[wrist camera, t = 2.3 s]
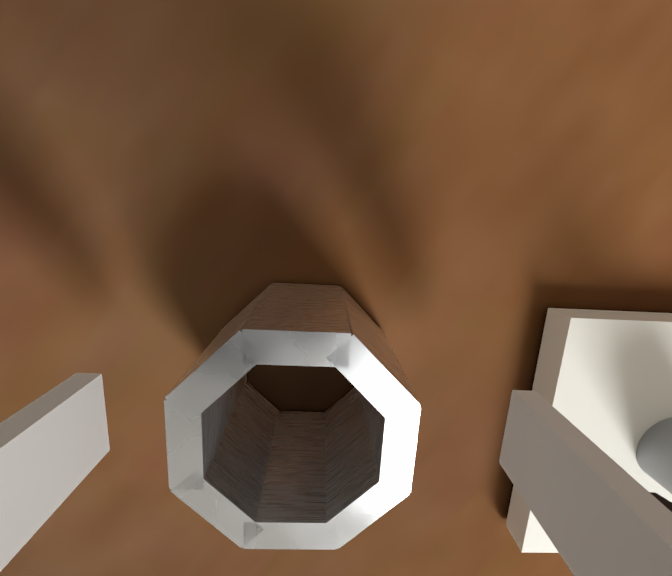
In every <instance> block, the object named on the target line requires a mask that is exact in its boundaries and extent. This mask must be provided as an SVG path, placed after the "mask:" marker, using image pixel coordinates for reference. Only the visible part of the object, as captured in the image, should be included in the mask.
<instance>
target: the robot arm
mask: <svg viewBox="0 0 672 576" xmlns="http://www.w3.org/2000/svg"><path fill="white" fill-rule="evenodd" d="M109 450H110V447H109V438H108V428H107V419H106V409H105V400H104V391H103V381H102V374H96V373H76V374H74V375H73V376H71V377H70V378H68V379H66V380H65V381H63V382H62V383H60V384H59V385H57V386H56V387H54V388H53V389H51V390H50V391H48V392H47V393H45V394H44V395H42V396H41V397H39V398H38V399H36V400H35V401H33V402H32V403H30V404H29V405H27V406H26V407H24V408H23V409H21V410H19V411H18V412H16V413H15V414H13V415H12V416H10V417H9V418H7V419H6V420H4V421H3V422H1V423H0V572H1V570H2V569H3V568H4V567H5V566H6V565H7V564H8V563H9V562H10V560H11V559H12V558H13V557H14V556H15V555H16V554H17V553H18V552H19V550H20V549H21V548H22V547H23V546H24V545H25V544H26V543H27V542H28V540H29V539H30V538H31V537H32V536H33V535H34V534H35V533H36V532H37V530H38V529H39V528H40V527H41V526H42V525H43V524H44V523H45V522H46V520H47V519H48V518H49V517H50V516H51V515H52V514H53V513H54V511H55V510H56V509H57V508H58V507H59V506H60V505H61V504H62V503H63V501H64V500H65V499H66V498H67V497H68V496H69V495H70V494H71V493H72V491H73V490H74V489H75V488H76V487H77V486H78V485H79V484H80V483H81V481H82V480H83V479H84V478H85V477H86V476H87V475H88V474H89V473H90V471H91V470H92V469H93V468H94V467H95V466H96V465H97V464H98V463H99V461H100V460H101V459H102V458H103V457H104V456H105V455H106V454H107V453H108V451H109ZM499 464H500V465H501V467H502V468H503V470H504V471H505V473H506V474H507V476H508V477H509V479H510V480H511V482H512V483H513V485H514V486H515V488H516V489H517V491H518V492H519V494H520V495H521V497H522V498H523V500H524V501H525V503H526V504H527V506H528V507H529V509H530V510H531V512H532V513H533V515H534V516H535V518H536V519H537V521H538V522H539V524H540V525H541V527H542V528H543V530H544V531H545V533H546V534H547V536H548V537H549V539H550V540H551V542H552V543H553V545H554V546H555V548H556V549H557V551H558V552H559V554H560V555H561V557H562V558H563V560H564V561H565V563H566V564H567V566H568V567H569V569H570V570H571V572H572V573H573V575H574V576H672V502H670V501H668V500H667V499H665V498H664V497H662V496H660V495H659V494H657V493H655V492H649V491H647V490H646V489H645V488H644V487H643V486H642V485H641V484H640V483H638V482H637V481H636V480H635V479H634V478H633V477H632V476H631V475H629V474H628V473H627V472H626V471H625V470H624V469H623V468H622V467H620V466H619V465H618V464H617V463H616V462H615V461H614V460H613V459H611V458H610V457H609V456H608V455H607V454H606V453H605V452H604V451H602V450H601V449H600V448H599V447H598V446H597V445H596V444H595V443H593V442H592V441H591V440H590V439H589V438H588V437H587V436H586V435H584V434H583V433H582V432H581V431H580V430H579V429H578V428H577V427H575V426H574V425H573V424H572V423H571V422H570V421H569V420H568V419H566V418H565V417H564V416H563V415H562V414H561V413H560V412H559V411H557V410H556V409H555V408H554V407H553V406H552V405H551V404H550V403H548V402H547V401H546V400H545V399H544V398H543V397H542V396H541V395H539V394H538V393H537V392H536V391H527V390H512V394H511V400H510V405H509V411H508V416H507V421H506V427H505V432H504V437H503V443H502V448H501V453H500V459H499Z"/></svg>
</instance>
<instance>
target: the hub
mask: <svg viewBox="0 0 672 576" xmlns="http://www.w3.org/2000/svg"><path fill="white" fill-rule="evenodd" d="M255 365H287V366H317V367H336V368H337V369H338V370H339V371H340V372H341V373H342V374H343V375H344V376H345V377H346V378H347V379H348V381H349V382H350V383H351V384H352V385H353V386H354V388H353V389H352V390H351V391H350V392H348V393H347V394H346V395H345V396H344V397H342V398H341V399H340V400H339V401H338V402H336V403H335V404H334V405H333V406H332V407H330V408H329V409H328V410H327V411H326V412H294V411H278V410H277V409H276V408H275V407H274V406H273V405H272V404H271V403H270V402H269V401H268V400H267V399H266V398H265V397H263V396H262V395H261V394H260V393H259V392H258V391H257V390H256V389H255V388H254V387H253V386H252V385H251V384H250V383H249V382H247V372H248V371H250V370H251V369H252V368H253V367H254V366H255ZM164 410H165V427H166V444H167V460H168V477H169V489H171V492H172V493H173V494H174V495H176V496H177V497H178V498H179V499H181V500H182V501H183V502H184V503H186V504H187V505H188V506H189V507H191V508H192V509H193V510H194V511H196V512H197V513H198V514H199V515H201V516H202V517H203V518H204V519H206V520H207V521H208V522H209V523H211V524H212V525H213V526H214V527H215V528H217V529H218V530H219V531H220V532H222V533H223V534H224V535H225V536H227V537H228V538H229V539H230V540H232V541H233V542H234V543H235V544H237V545H238V546H239V547H240V548H242V547H243V549H337V548H340V547H342V546H343V545H344V544H346V543H347V542H348V541H349V540H351V539H352V538H353V537H355V536H356V535H357V534H359V533H360V532H361V531H363V530H364V529H365V528H367V527H368V526H369V525H370V524H372V523H373V522H374V521H376V520H377V519H378V518H380V517H381V516H382V515H384V514H385V513H386V512H387V511H389V510H390V509H391V508H393V507H394V506H395V505H397V504H398V503H399V502H401V501H402V500H403V499H404V498H406V497H407V496H408V495H410V494H409V493H411V486H412V478H413V470H414V461H415V453H416V445H417V436H418V428H419V419H420V411H421V406H420V403H419V401H418V399H417V397H416V395H415V393H414V391H413V389H412V387H411V385H410V384H409V382H408V380H407V378H406V376H405V374H404V372H403V370H402V368H401V366H400V364H399V362H398V360H397V358H396V356H395V354H394V352H393V350H392V348H391V346H390V344H389V342H388V340H387V338H386V336H385V334H384V332H383V331H382V330H381V329H380V328H379V327H378V326H377V325H376V323H375V322H374V321H373V320H372V319H371V318H370V317H369V316H368V315H367V314H366V313H365V311H364V310H363V309H362V308H361V307H360V306H359V305H358V304H357V303H356V302H355V301H354V300H353V298H352V297H351V296H350V295H349V294H348V293H347V292H346V291H345V290H344V289H343V288H342V287H340V286H336V285H314V284H292V283H273V284H272V283H271V284H270V285H269V286H268V287H267V288H266V289H265V290H264V291H262V292H261V293H260V294H259V295H258V296H257V297H256V298H255V299H254V300H253V301H252V302H250V303H249V304H248V305H247V306H246V307H245V308H244V309H243V310H242V311H241V312H239V313H238V314H237V315H236V316H235V317H234V318H233V319H232V320H231V321H230V322H229V323H227V324H226V325H225V326H224V327H223V329H222V330H221V331H220V332H219V333H218V335H217V336H216V337H215V338H214V339H213V341H212V342H211V343H210V344H209V345H208V347H207V348H206V349H205V350H204V351H203V353H202V354H201V355H200V356H199V357H198V359H197V360H196V361H195V362H194V363H193V365H192V366H191V367H190V368H189V369H188V371H187V372H186V373H185V374H184V375H183V377H182V378H181V379H180V380H179V381H178V383H177V384H176V385H175V386H174V387H173V389H172V390H171V391H170V392H169V393H168V395H167V396H166V397H165V399H164Z"/></svg>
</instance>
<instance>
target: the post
mask: <svg viewBox="0 0 672 576" xmlns="http://www.w3.org/2000/svg"><path fill="white" fill-rule="evenodd" d="M532 391H536V392H537V393H538V394H539V395H541V396H542V397H543V398H544V399H545V400H546V401H547V402H548V403H550V404H551V405H552V406H553V407H554V408H555V409H556V410H557V411H559V412H560V413H561V414H562V415H563V416H564V417H565V418H566V419H568V420H569V421H570V422H571V423H572V424H573V425H574V426H575V427H577V428H578V429H579V430H580V431H581V432H582V433H583V434H584V435H586V436H587V437H588V438H589V439H590V440H591V441H592V442H593V443H595V444H596V445H597V446H598V447H599V448H600V449H601V450H602V451H604V452H605V453H606V454H607V455H608V456H609V457H610V458H611V459H613V460H614V461H615V462H616V463H617V464H618V465H619V466H620V467H622V468H623V469H624V470H625V471H626V472H627V473H628V474H629V475H631V476H632V477H633V478H634V479H635V480H636V481H637V482H638V483H640V484H641V485H642V486H643V487H644V488H645V489H646V490H647V491H649V492H655V493H657V494H659V495H660V496H662V497H664V498H665V499H667V500H668V501H670V502H672V313H657V312H633V311H610V310H587V309H563V308H548V311H547V316H546V321H545V326H544V331H543V336H542V342H541V347H540V352H539V357H538V362H537V367H536V372H535V377H534V383H533V388H532ZM506 527H507V528H508V530H509V532H510V533H511V535H512V537H513V539H514V540H515V542H516V544H517V546H518V547H519V549H520V551H521V552H544V553H559V552H558V551H557V549H556V548H555V546H554V545H553V543H552V542H551V540H550V539H549V537H548V536H547V534H546V533H545V531H544V530H543V528H542V527H541V525H540V524H539V522H538V521H537V519H536V518H535V516H534V515H533V513H532V512H531V510H530V509H529V507H528V506H527V504H526V503H525V501H524V500H523V498H522V497H521V495H520V494H519V492H518V491H517V489H516V488H515V486H514V485H513V490H512V495H511V501H510V506H509V511H508V516H507V521H506Z"/></svg>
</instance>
